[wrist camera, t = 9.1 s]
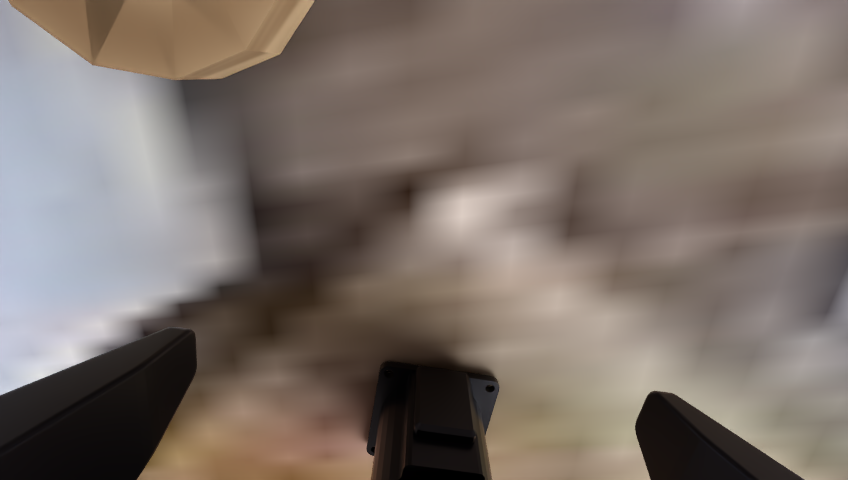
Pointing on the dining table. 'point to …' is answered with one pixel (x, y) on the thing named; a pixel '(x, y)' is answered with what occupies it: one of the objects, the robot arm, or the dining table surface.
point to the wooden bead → (170, 33)
